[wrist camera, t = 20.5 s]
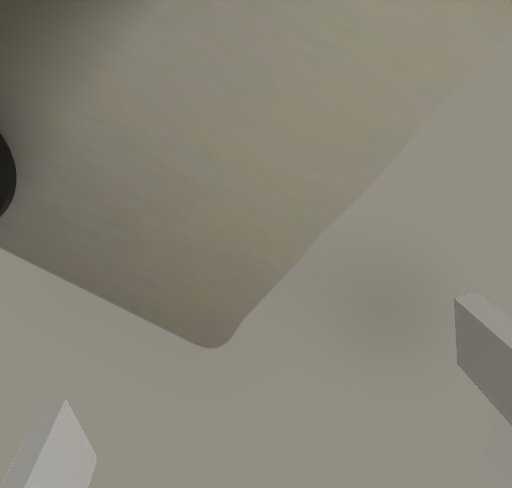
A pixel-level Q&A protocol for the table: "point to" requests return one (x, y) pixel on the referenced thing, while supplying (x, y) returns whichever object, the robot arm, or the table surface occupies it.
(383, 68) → the table surface
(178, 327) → the table surface
